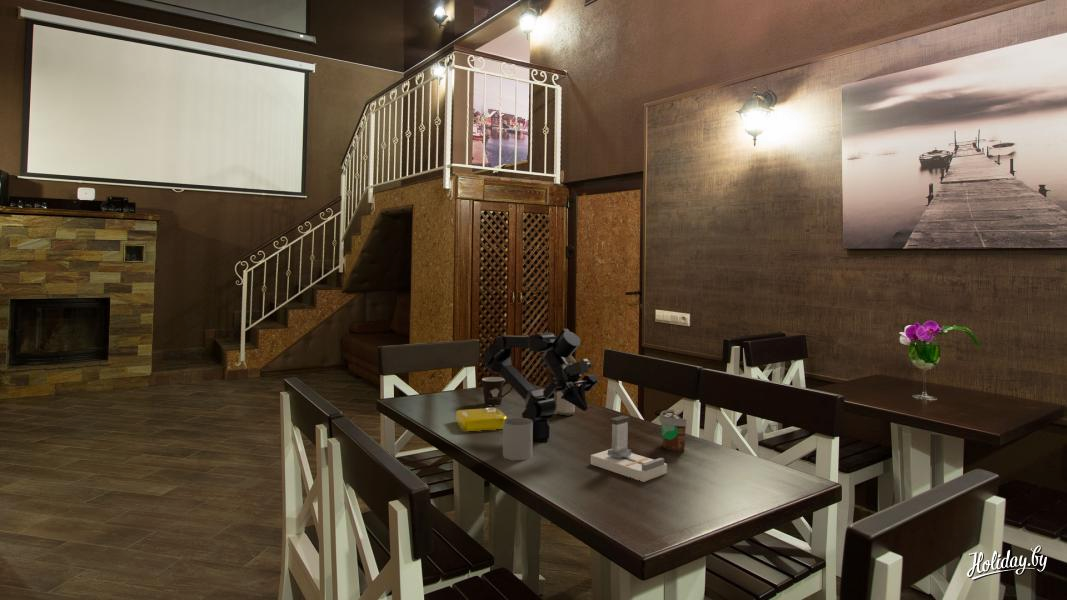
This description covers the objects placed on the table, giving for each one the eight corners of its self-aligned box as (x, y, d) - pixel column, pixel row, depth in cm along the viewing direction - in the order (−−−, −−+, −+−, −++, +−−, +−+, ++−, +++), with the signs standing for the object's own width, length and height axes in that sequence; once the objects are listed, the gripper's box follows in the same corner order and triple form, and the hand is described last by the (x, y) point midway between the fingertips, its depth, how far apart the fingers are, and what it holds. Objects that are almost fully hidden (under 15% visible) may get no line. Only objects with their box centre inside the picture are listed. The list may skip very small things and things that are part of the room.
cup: (510, 462, 165) (510, 426, 164) (498, 453, 172) (498, 419, 171) (537, 457, 169) (537, 423, 168) (524, 449, 176) (524, 416, 175)
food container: (653, 441, 186) (654, 409, 185) (672, 440, 186) (673, 409, 186) (665, 453, 174) (666, 419, 173) (685, 453, 174) (686, 419, 174)
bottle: (563, 411, 223) (564, 331, 222) (579, 413, 219) (580, 332, 218) (552, 414, 218) (553, 333, 216) (568, 417, 214) (569, 334, 212)
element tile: (455, 422, 208) (455, 408, 208) (496, 419, 212) (496, 406, 212) (463, 433, 194) (463, 419, 193) (508, 430, 198) (508, 416, 198)
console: (590, 464, 164) (590, 449, 163) (614, 456, 170) (614, 442, 170) (643, 481, 150) (643, 466, 150) (666, 473, 157) (667, 458, 157)
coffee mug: (479, 406, 229) (479, 380, 229) (484, 401, 238) (485, 376, 237) (508, 408, 228) (509, 382, 227) (513, 402, 236) (513, 377, 235)
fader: (607, 455, 162) (607, 418, 161) (620, 451, 166) (621, 414, 165) (618, 459, 159) (619, 421, 158) (631, 454, 163) (632, 417, 162)
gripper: (550, 353, 168) (578, 398, 160) (594, 347, 180) (622, 389, 173) (531, 377, 174) (557, 421, 167) (575, 370, 187) (602, 411, 179)
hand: (586, 410), depth 171 cm, fingers closed
